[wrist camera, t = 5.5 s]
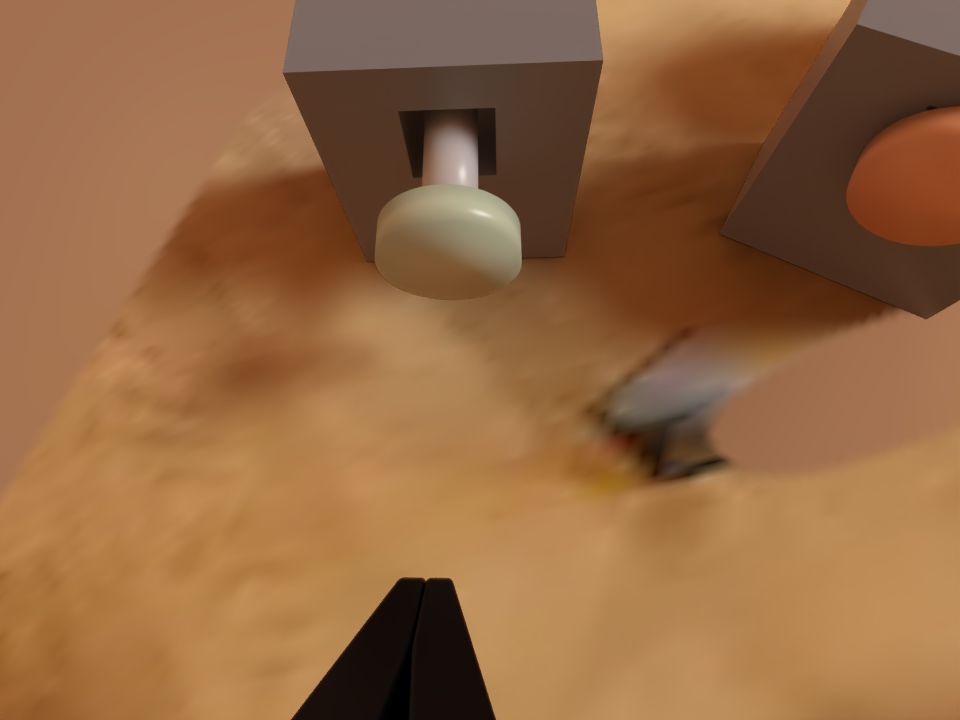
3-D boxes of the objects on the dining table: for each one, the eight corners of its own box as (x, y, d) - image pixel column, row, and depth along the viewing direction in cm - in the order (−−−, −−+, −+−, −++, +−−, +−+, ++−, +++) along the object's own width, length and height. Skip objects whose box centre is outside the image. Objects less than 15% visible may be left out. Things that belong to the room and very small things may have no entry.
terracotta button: (950, 264, 18) (1085, 173, 14) (818, 212, 19) (907, 113, 15) (988, 138, 20) (1118, 24, 15) (866, 96, 20) (957, -20, 16)
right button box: (926, 319, 22) (1234, 140, 13) (719, 233, 24) (856, 24, 15) (959, 214, 24) (1249, -10, 15) (763, 142, 26) (911, -97, 17)
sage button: (519, 298, 18) (524, 219, 14) (390, 301, 18) (357, 223, 14) (514, 155, 20) (517, 50, 16) (399, 159, 20) (373, 56, 16)
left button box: (564, 256, 24) (603, 59, 15) (367, 261, 24) (282, 72, 15) (556, 152, 26) (586, -77, 17) (375, 158, 26) (306, -64, 17)
